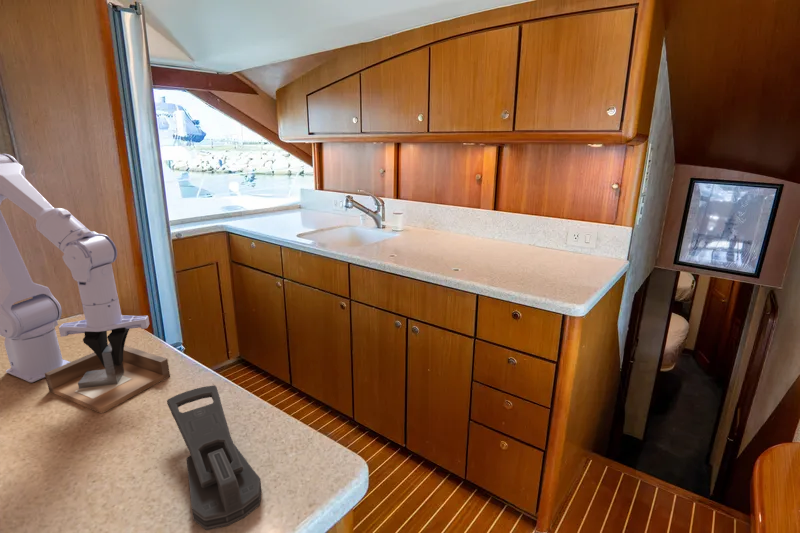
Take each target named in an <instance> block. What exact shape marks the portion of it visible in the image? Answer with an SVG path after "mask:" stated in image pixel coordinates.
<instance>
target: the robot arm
mask: <svg viewBox="0 0 800 533" xmlns="http://www.w3.org/2000/svg"><path fill="white" fill-rule="evenodd" d="M6 199H8V200H9V201H10V202H12V203H13V204H14V205H16V206H17V207H18V208H20V209H21V210H23V211H24V212H25V213H26V214H28V215H29V216H31V218H33V219H35V229H36V230H37V232H39V233H40V234H41V235H43V237H44V238H46V239H47V240H48V241H49V242H50V243H52V244H53V245H54V246H55V247H56V248H57V249H58V250H59V251H61V252H62V253H63V255H62V256H61V257H62V260H63V262H64V264H65V266H66V267H67V268H68V270H70V274H71V276H72V279H73V280H74V281H75V282H76V283H77V288H78V292H79V297H80V302H81V305H82V310H83V315H84V319H81V320H77V321H70V322H64V323H61V325H59V324H58V321H60V319H61V318H62V315H63V314H62V312H63V311H62V310H63V309H62V306H61V304H60V302H59V301H58V299H57V298H55V296H54V295H53V293H52V292H51V290H50V288H49V286H46V285H42V284H39V283H36V282H34V281H33V278H32V277H31V275H30V273H29V270H28V267H27V266H26V263H25V261H24V259H23V257H22V255H21V252H20V251H19V248H18V246H17V244H16V242H15V241H16V240H14V237H13V235H12V233H11V230H10V229H9V226H8V224H7V222H6V219H5V217H4V215H3V213H2V210H1V209H0V336H1V337H3V338H4V342H3V344H4V347H5V348H4V349H5V351H6V352H5V353H6V355H7V358H8V363H9V366H10V368H7V369H6V370H5V373H7V374H10V375H12V376H14V377H17V378H19V379H21V380H24V381H26V382H28V383H34V382H37V381H40V380H41V379H44V378H46V377H45V373H47V372H49V371H51V370H54V369H56V368H58V367H61V366H63V365H65V364H68V363H70V362H71V361H68V360H66V359H63V354H62V351H61V348H60V344H59V340H58V335H57V331H56V327H58V326H59V327H58V331H59V335H60V337H61V338H63V337H67V336H69V335H75V334H76V335H77V334H78V335H79V334H84V338H82V342H83V343H84V345H86V346H87V347H88V348H90V350H92V351H93V353H94V352H95V354H96V355H97V356H98V358H99V359H100V361H101V363H102V364H103V366H104V361H103V356H102V352H103V351H104V349H105V348H106V347H107V346H108V344H109V343H110V345H111V347H112V350H113V355H114V361H115V364H116V366H119V365H121V363H122V362H123V350H124V345H125V346H126V344H125V343H126V340H127V337H128V334H129V331H130V329H138V328H139V329H141V330H143V329H144V330H146V329H148V327H149V325H150V318H149V316H148V315H123V314H122V310H121V306H120V300H119V296H118V291H117V284H116V279H115V275H114V270H113V263H114V262H116V260H117V257H118V249H117V245H116V244H115V242H114V241H113V239H111V238H110V236H108V234H107V235H106V234H105V233H98V232H96V231H94V230H93V231H91V230H90V229H89V228H87V227H86V225H84V223H82V222H81V221H79V219H77V218H76V217H75V216H74V215H73V214H72V213H71V212H70V211H69V210H67V209H66V208H63V207H62V208H61V207H54V206H53V205H52V204H51V203H50V202H49V201H48V200H47V198H45V197H44V196H43V195H42V194H41V193H40V192H39V191H38V189H37V188H35V186H33V185H32V184H31V182H30V181H29V180H27V178H26V172H25V168H24V165H22V164H20V163H19V161H18V160H17V159H16V158H15V157H14V156H12V155H11V154H8V153H0V206H1V205H2V202H3V201H4V200H6ZM29 298H30V299H29ZM108 331H109V332H110V333H109V334H108ZM108 342H109V343H108ZM104 367H105V366H104Z"/></svg>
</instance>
